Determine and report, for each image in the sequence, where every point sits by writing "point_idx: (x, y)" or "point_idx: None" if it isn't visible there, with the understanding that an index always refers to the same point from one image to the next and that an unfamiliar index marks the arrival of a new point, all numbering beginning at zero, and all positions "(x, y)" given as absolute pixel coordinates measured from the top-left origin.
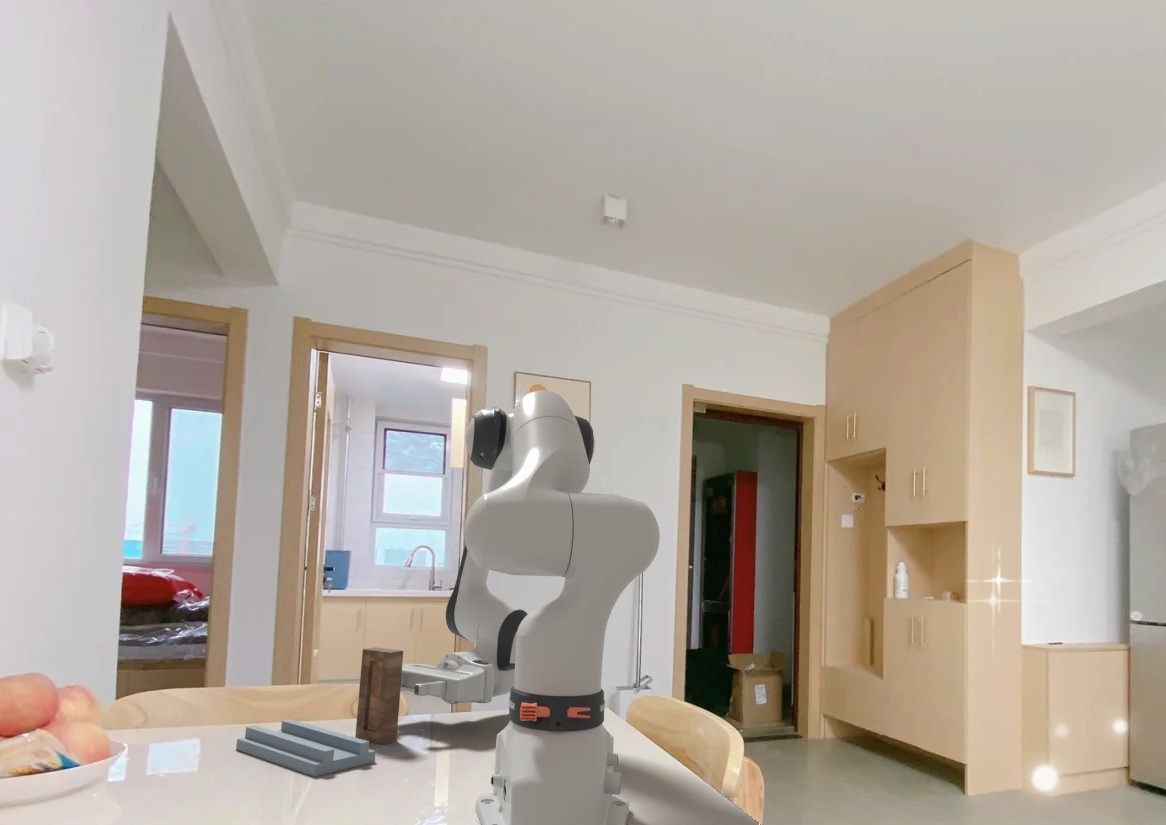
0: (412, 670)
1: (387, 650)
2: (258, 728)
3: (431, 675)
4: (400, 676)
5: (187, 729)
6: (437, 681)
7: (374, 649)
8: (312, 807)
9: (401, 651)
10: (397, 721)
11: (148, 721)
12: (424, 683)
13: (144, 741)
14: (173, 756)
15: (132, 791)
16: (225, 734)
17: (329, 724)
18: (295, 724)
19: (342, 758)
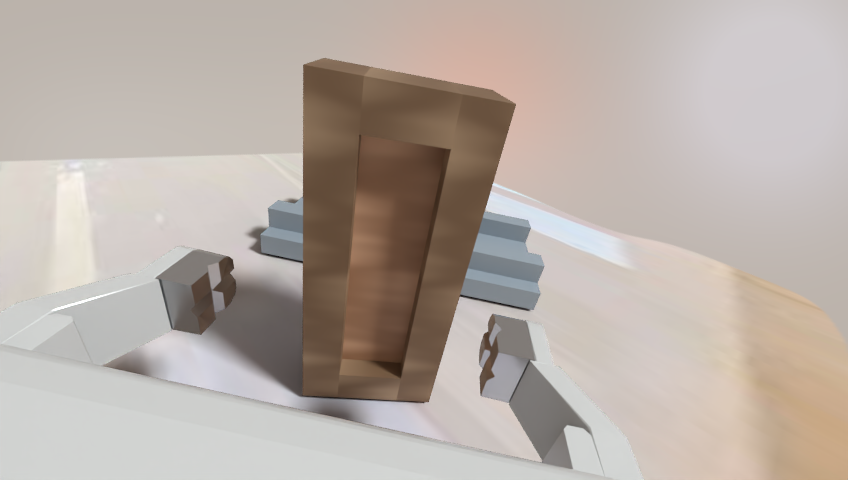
0: (444, 460)
1: (383, 74)
2: (505, 218)
3: (136, 374)
4: (304, 198)
5: (705, 291)
6: (57, 321)
7: (453, 85)
8: (255, 162)
9: (308, 67)
10: (303, 349)
11: (794, 301)
12: (172, 272)
13: (635, 242)
14: (536, 218)
15: None
16: (639, 292)
17: (670, 473)
18: (492, 245)
19: (296, 203)
